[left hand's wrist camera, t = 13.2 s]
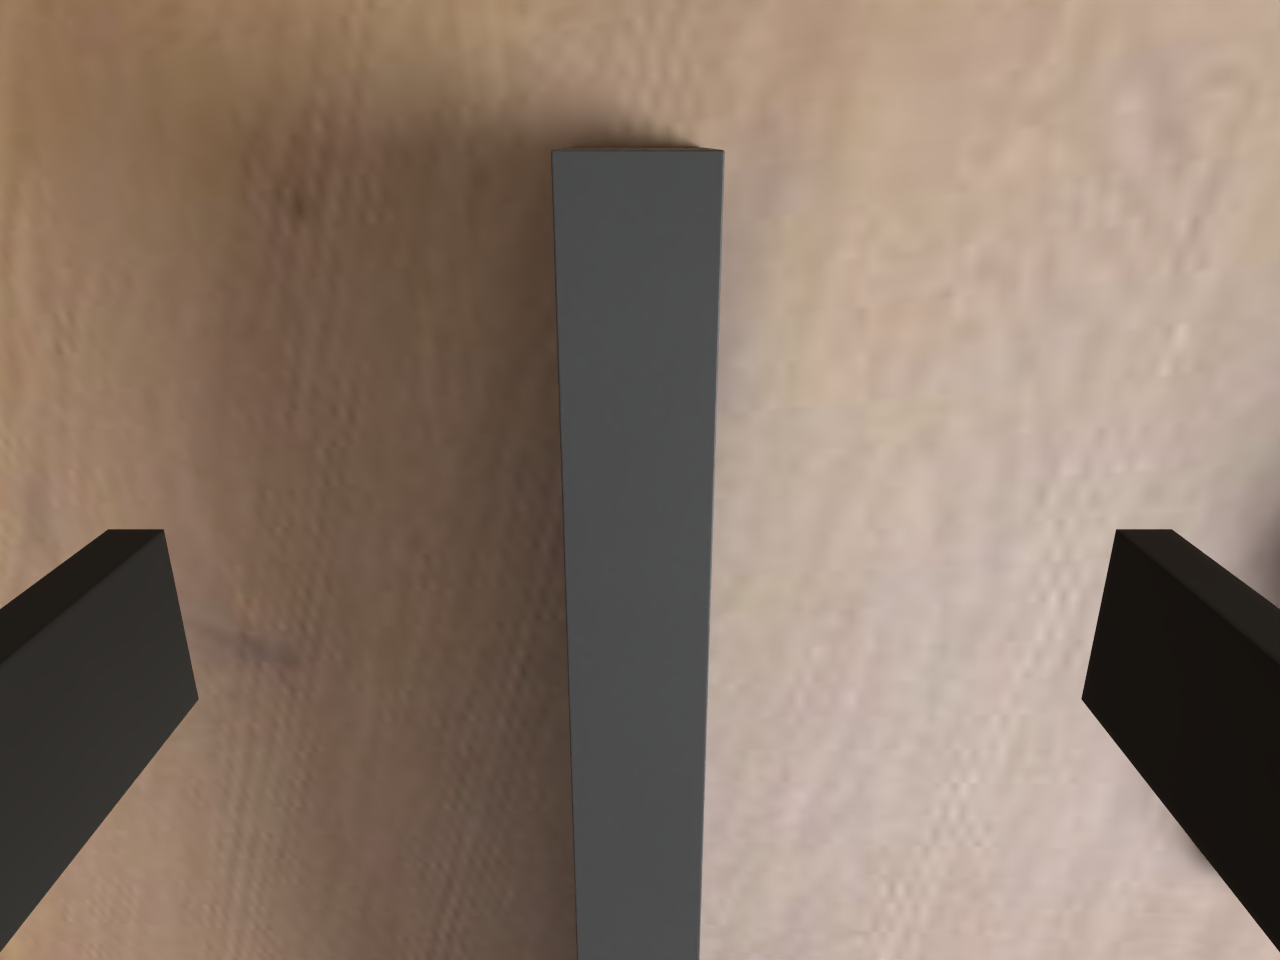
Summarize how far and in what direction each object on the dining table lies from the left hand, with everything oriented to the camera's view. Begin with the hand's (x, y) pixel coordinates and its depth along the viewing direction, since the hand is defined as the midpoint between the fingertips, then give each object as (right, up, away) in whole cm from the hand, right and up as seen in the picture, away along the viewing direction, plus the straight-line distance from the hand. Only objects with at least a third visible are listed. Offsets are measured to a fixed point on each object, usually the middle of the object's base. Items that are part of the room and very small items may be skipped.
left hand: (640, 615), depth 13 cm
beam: (0, -15, +31) cm, 34 cm away
